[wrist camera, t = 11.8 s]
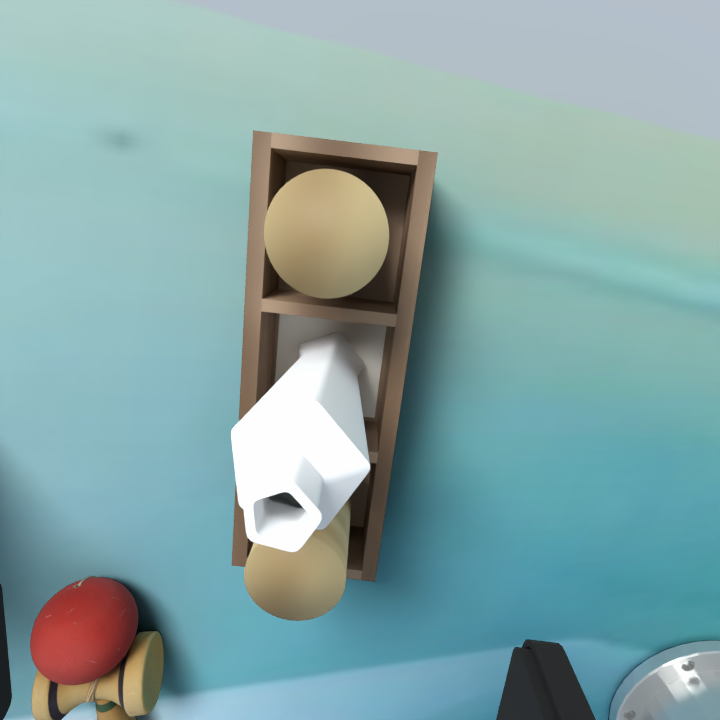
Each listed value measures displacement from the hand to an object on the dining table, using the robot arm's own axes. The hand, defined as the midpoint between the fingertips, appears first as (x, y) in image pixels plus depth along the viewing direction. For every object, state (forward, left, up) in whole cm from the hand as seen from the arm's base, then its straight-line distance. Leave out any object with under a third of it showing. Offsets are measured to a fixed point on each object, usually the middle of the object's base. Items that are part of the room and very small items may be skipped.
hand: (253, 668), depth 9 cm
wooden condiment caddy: (0, 0, -20) cm, 20 cm away
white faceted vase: (0, 0, -20) cm, 20 cm away
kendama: (+13, +25, -21) cm, 35 cm away
